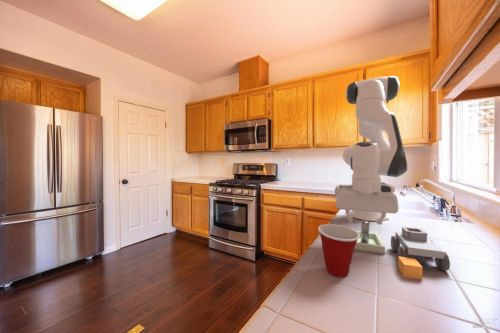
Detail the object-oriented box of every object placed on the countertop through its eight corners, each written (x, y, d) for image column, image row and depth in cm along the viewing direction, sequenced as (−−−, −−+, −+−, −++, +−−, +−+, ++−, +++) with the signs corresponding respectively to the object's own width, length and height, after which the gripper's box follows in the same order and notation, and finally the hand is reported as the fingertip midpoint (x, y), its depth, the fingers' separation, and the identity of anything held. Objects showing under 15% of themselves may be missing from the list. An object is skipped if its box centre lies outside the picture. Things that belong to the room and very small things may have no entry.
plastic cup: (346, 288, 51) (346, 240, 51) (309, 269, 60) (310, 228, 59) (367, 274, 57) (367, 231, 57) (331, 258, 66) (331, 221, 66)
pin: (360, 240, 79) (360, 220, 78) (368, 241, 78) (368, 220, 77) (361, 243, 76) (361, 222, 76) (369, 244, 75) (370, 223, 75)
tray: (348, 236, 85) (348, 230, 85) (377, 239, 81) (377, 233, 81) (350, 249, 73) (350, 242, 73) (384, 254, 69) (384, 246, 69)
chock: (422, 280, 55) (422, 267, 55) (404, 277, 56) (404, 264, 56) (414, 270, 59) (414, 258, 59) (397, 268, 61) (398, 256, 61)
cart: (390, 247, 74) (390, 224, 74) (428, 252, 70) (429, 227, 70) (402, 266, 61) (402, 238, 61) (449, 274, 57) (450, 243, 57)
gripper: (334, 185, 78) (334, 222, 79) (400, 188, 70) (399, 228, 71) (334, 183, 84) (334, 217, 84) (395, 185, 76) (394, 222, 77)
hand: (364, 222), depth 77 cm, fingers open, 8 cm apart
